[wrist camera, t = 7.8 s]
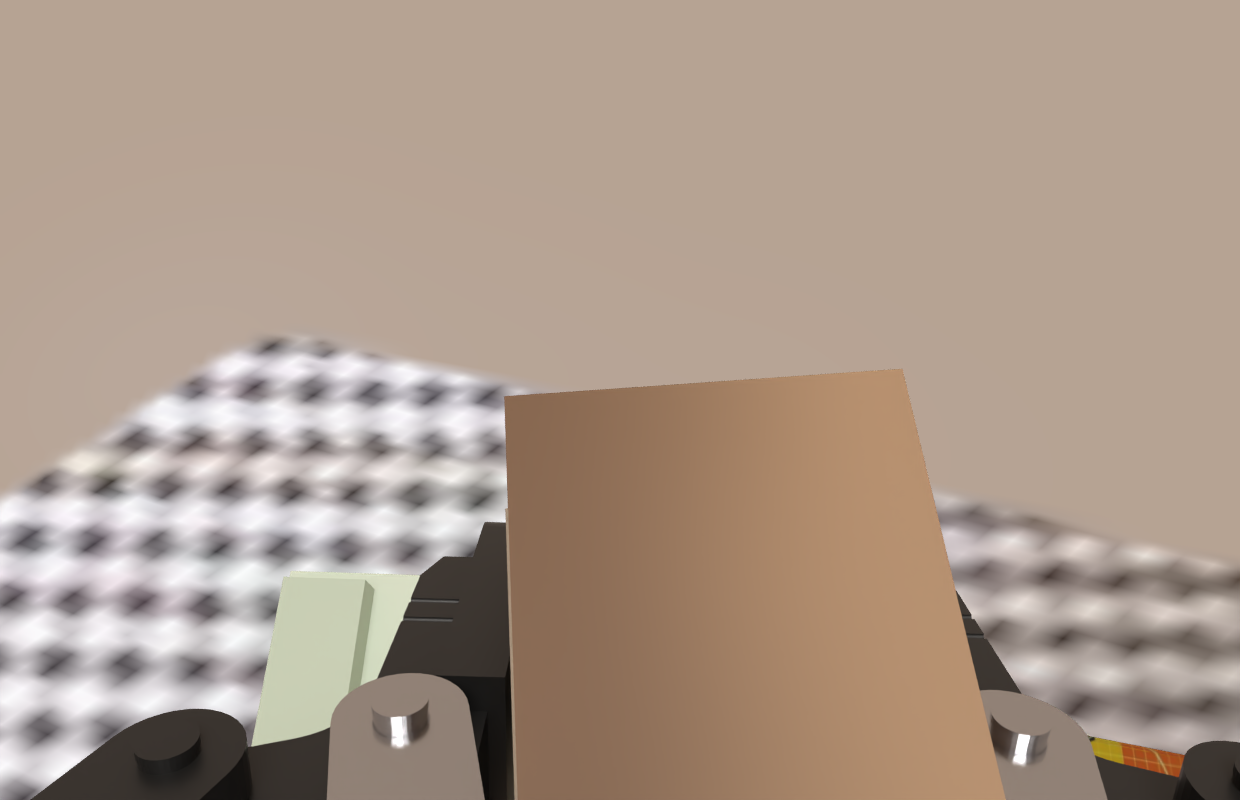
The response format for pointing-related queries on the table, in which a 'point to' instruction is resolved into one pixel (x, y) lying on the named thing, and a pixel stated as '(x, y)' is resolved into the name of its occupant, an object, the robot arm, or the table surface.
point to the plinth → (326, 646)
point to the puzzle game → (1138, 756)
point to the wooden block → (735, 598)
